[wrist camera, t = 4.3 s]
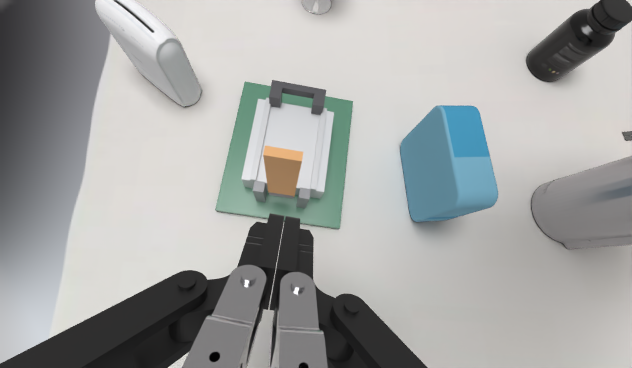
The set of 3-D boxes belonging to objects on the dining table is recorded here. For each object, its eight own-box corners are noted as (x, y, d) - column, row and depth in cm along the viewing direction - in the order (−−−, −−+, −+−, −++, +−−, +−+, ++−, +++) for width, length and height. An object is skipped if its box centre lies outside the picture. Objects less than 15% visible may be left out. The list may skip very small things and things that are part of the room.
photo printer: (132, 69, 42) (75, -9, 30) (156, 51, 43) (110, -30, 32) (185, 113, 41) (148, 51, 30) (207, 93, 43) (180, 26, 31)
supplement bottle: (568, 77, 52) (651, 23, 40) (537, 86, 50) (614, 33, 39) (548, 45, 53) (623, -15, 42) (518, 53, 52) (586, -8, 40)
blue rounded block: (440, 222, 42) (502, 204, 30) (410, 223, 41) (461, 206, 29) (426, 143, 45) (477, 99, 33) (398, 143, 44) (440, 99, 33)
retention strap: (293, 199, 35) (301, 163, 23) (268, 195, 35) (262, 157, 22) (295, 190, 35) (303, 149, 23) (270, 186, 35) (265, 143, 23)
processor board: (338, 229, 39) (349, 221, 33) (216, 211, 38) (204, 199, 32) (351, 104, 45) (363, 77, 38) (245, 85, 44) (239, 53, 37)
